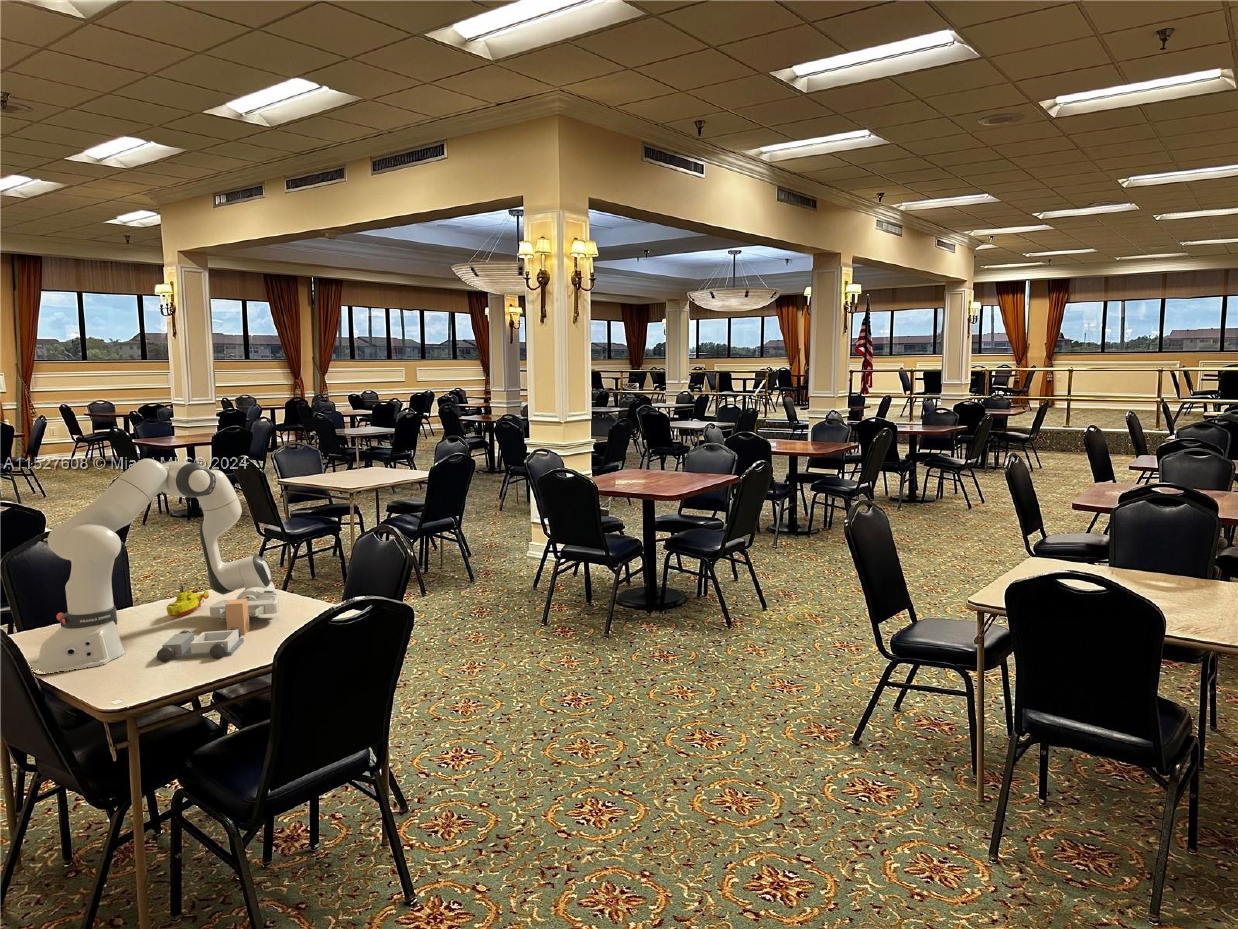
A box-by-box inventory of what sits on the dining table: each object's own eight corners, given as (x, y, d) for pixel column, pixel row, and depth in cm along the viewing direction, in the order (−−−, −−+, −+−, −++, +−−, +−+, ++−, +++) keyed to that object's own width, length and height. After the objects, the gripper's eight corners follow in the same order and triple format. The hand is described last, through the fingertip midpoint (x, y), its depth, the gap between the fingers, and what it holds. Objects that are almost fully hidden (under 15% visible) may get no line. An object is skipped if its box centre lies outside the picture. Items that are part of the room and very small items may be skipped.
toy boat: (211, 605, 286) (208, 577, 285) (178, 622, 269) (175, 592, 267) (193, 605, 287) (191, 577, 286) (160, 622, 269) (157, 592, 268)
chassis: (153, 663, 231) (152, 649, 231) (175, 644, 247) (174, 631, 246) (228, 657, 234) (227, 644, 234) (245, 639, 250) (244, 626, 249)
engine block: (227, 636, 253) (225, 604, 252) (233, 630, 258) (230, 599, 257) (245, 634, 254) (242, 603, 253) (249, 629, 259) (247, 598, 258)
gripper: (216, 594, 268) (201, 607, 255) (282, 591, 271) (271, 603, 257) (218, 613, 269) (203, 627, 255) (283, 609, 272) (272, 622, 258)
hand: (238, 614), depth 256 cm, fingers open, 8 cm apart
